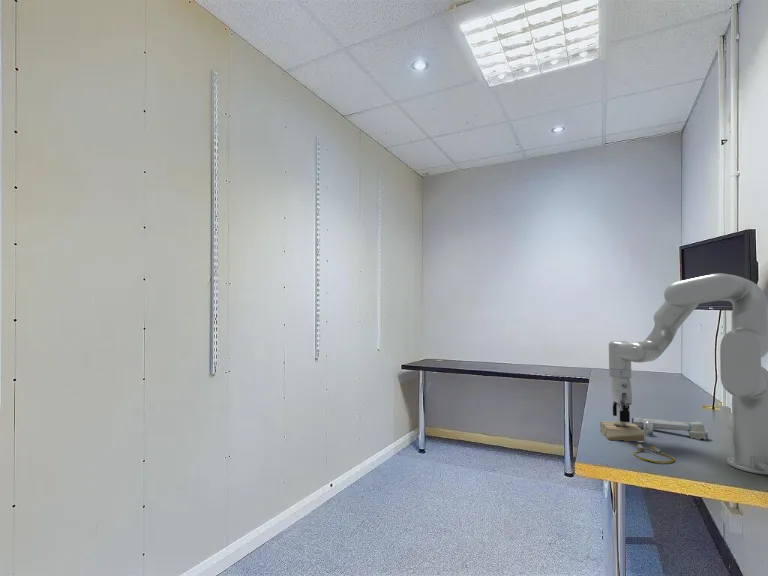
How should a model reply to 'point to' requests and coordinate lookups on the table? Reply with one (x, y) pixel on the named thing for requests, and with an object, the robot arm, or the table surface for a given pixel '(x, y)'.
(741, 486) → the table surface
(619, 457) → the table surface
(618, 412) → the long pin
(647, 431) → the short pin
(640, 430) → the bored block
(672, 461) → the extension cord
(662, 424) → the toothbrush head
